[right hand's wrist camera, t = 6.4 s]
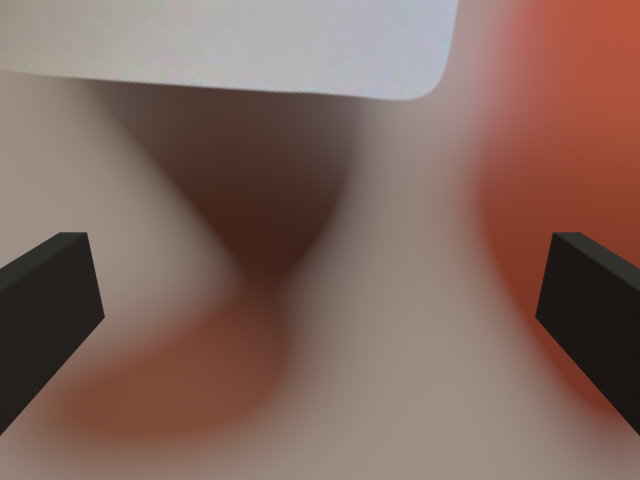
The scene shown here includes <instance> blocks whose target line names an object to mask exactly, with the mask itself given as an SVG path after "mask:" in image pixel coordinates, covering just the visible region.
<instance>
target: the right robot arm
mask: <svg viewBox="0 0 640 480" xmlns="http://www.w3.org/2000/svg"><path fill="white" fill-rule="evenodd" d="M104 318H105V315H104V311H103V306H102V301H101V297H100V292H99V287H98V283H97V278H96V273H95V268H94V264H93V259H92V254H91V250H90V245H89V240H88V235H87V233H86V232H60V233H58V234H56V235H55V236H53V237H52V238H50V239H48V240H47V241H45V242H43V243H42V244H40V245H38V246H37V247H35V248H34V249H32V250H30V251H29V252H27V253H25V254H24V255H22V256H21V257H19V258H17V259H16V260H14V261H12V262H11V263H9V264H7V265H6V266H4V267H3V268H1V269H0V436H1V434H2V433H3V432H4V431H5V430H6V429H7V428H8V427H9V425H10V424H11V423H12V422H13V421H14V420H15V419H16V417H17V416H18V415H19V414H20V413H21V412H22V411H23V410H24V408H25V407H26V406H27V405H28V404H29V403H30V402H31V400H32V399H33V398H34V397H35V396H36V395H37V394H38V393H39V391H40V390H41V389H42V388H43V387H44V386H45V385H46V383H47V382H48V381H49V380H50V379H51V378H52V377H53V375H54V374H55V373H56V372H57V371H58V370H59V369H60V368H61V366H62V365H63V364H64V363H65V362H66V361H67V360H68V358H69V357H70V356H71V355H72V354H73V353H74V352H75V350H76V349H77V348H78V347H79V346H80V345H81V344H82V343H83V341H84V340H85V339H86V338H87V337H88V336H89V335H90V334H91V332H92V331H93V330H94V329H95V328H96V327H97V326H98V324H99V323H100V322H101V321H102V320H103V319H104ZM535 318H536V319H537V320H538V321H539V322H540V323H541V324H542V326H543V327H544V328H545V329H546V330H547V331H548V332H549V334H550V335H551V336H552V337H553V338H554V339H555V340H556V341H557V343H558V344H559V345H560V346H561V347H562V348H563V349H564V350H565V352H566V353H567V354H568V355H569V356H570V357H571V358H572V360H573V361H574V362H575V363H576V364H577V365H578V366H579V368H580V369H581V370H582V371H583V372H584V373H585V374H586V375H587V377H588V378H589V379H590V380H591V381H592V382H593V383H594V385H595V386H596V387H597V388H598V389H599V390H600V391H601V393H602V394H603V395H604V396H605V397H606V398H607V399H608V400H609V402H610V403H611V404H612V405H613V406H614V407H615V408H616V410H617V411H618V412H619V413H620V414H621V415H622V416H623V417H624V419H625V420H626V421H627V422H628V423H629V424H630V425H631V426H632V428H633V429H634V430H635V431H636V432H637V433H638V434H639V436H640V269H639V268H638V267H636V266H634V265H633V264H631V263H629V262H628V261H626V260H624V259H623V258H621V257H620V256H618V255H616V254H615V253H613V252H611V251H610V250H608V249H606V248H605V247H603V246H602V245H600V244H598V243H597V242H595V241H593V240H592V239H590V238H588V237H587V236H585V235H584V234H582V233H580V232H554V233H553V235H552V240H551V245H550V250H549V254H548V259H547V264H546V268H545V273H544V278H543V282H542V287H541V292H540V297H539V301H538V306H537V311H536V316H535Z"/></svg>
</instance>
